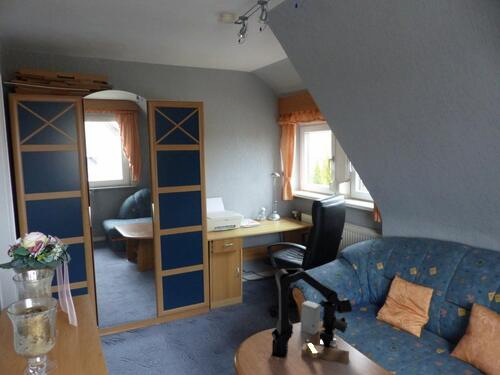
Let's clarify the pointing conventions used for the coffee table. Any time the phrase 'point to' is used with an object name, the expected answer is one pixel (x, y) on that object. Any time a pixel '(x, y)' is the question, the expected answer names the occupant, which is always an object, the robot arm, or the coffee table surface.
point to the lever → (311, 348)
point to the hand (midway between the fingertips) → (328, 344)
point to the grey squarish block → (332, 344)
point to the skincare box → (310, 317)
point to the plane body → (327, 354)
